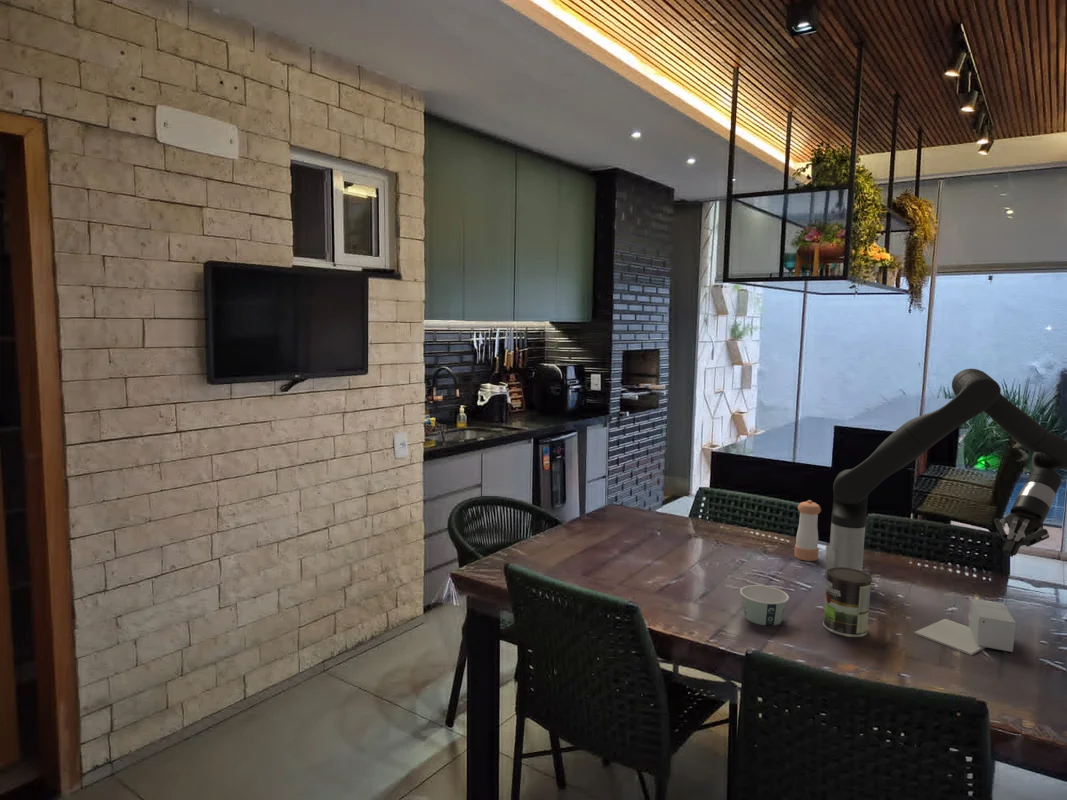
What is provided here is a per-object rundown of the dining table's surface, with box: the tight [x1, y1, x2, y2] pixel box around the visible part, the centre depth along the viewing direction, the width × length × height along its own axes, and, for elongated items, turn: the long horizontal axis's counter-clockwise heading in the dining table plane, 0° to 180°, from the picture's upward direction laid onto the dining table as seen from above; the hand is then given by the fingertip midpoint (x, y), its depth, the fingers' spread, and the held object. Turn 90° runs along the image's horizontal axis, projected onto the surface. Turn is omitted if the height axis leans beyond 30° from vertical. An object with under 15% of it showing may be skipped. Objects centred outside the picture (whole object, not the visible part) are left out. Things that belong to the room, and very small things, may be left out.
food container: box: [739, 584, 790, 627], centre depth 177 cm, size 12×12×6 cm
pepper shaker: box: [793, 499, 822, 562], centre depth 224 cm, size 7×7×19 cm
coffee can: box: [822, 567, 873, 638], centre depth 171 cm, size 10×10×14 cm
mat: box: [913, 618, 987, 656], centre depth 168 cm, size 15×13×1 cm
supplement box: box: [968, 598, 1017, 653], centre depth 166 cm, size 7×7×13 cm
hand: (1007, 554), depth 179 cm, fingers closed
